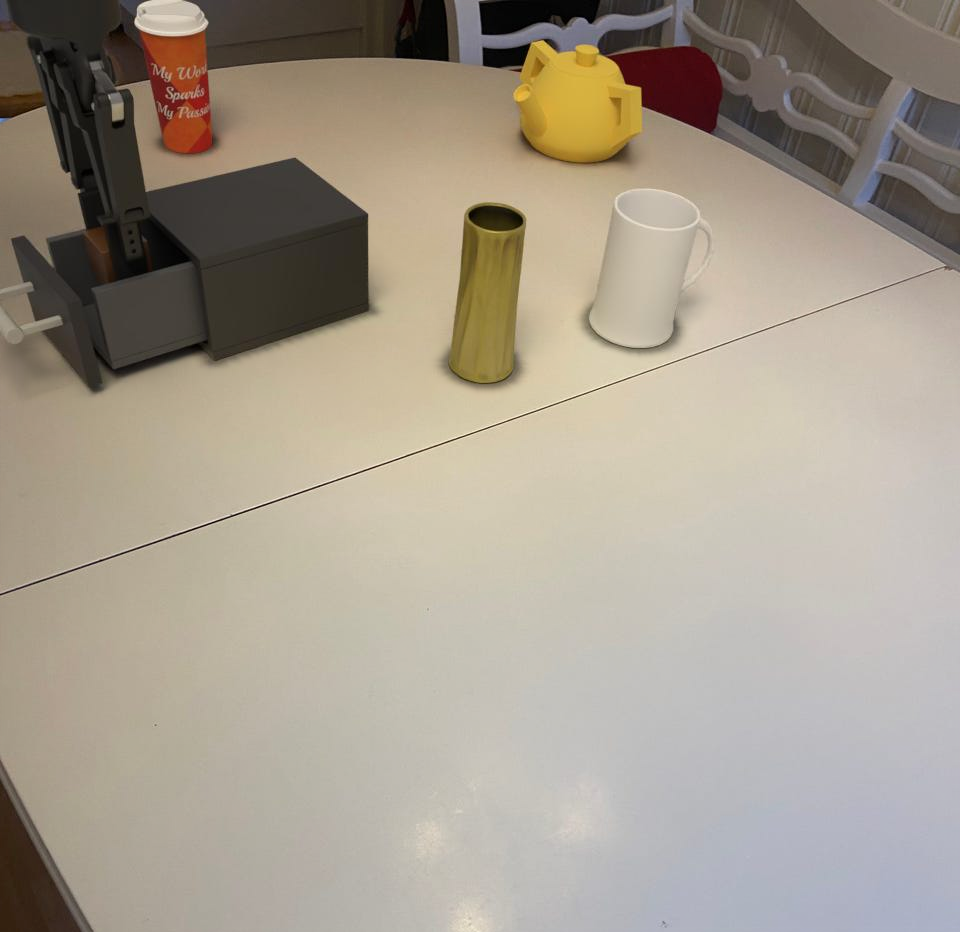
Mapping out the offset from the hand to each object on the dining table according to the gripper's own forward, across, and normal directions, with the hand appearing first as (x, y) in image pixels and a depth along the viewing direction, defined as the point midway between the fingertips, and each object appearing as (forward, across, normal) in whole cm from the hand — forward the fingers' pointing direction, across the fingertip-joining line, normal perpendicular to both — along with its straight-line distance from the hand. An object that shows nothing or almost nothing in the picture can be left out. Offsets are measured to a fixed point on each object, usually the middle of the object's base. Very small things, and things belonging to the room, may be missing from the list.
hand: (123, 276), depth 83 cm
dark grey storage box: (+6, 0, -13) cm, 14 cm away
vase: (+7, -19, -25) cm, 32 cm away
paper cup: (+6, +35, -23) cm, 42 cm away
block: (0, 0, 0) cm, 0 cm away
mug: (+7, -22, -44) cm, 50 cm away
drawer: (+5, 0, +1) cm, 6 cm away
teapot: (+7, +14, -64) cm, 66 cm away
